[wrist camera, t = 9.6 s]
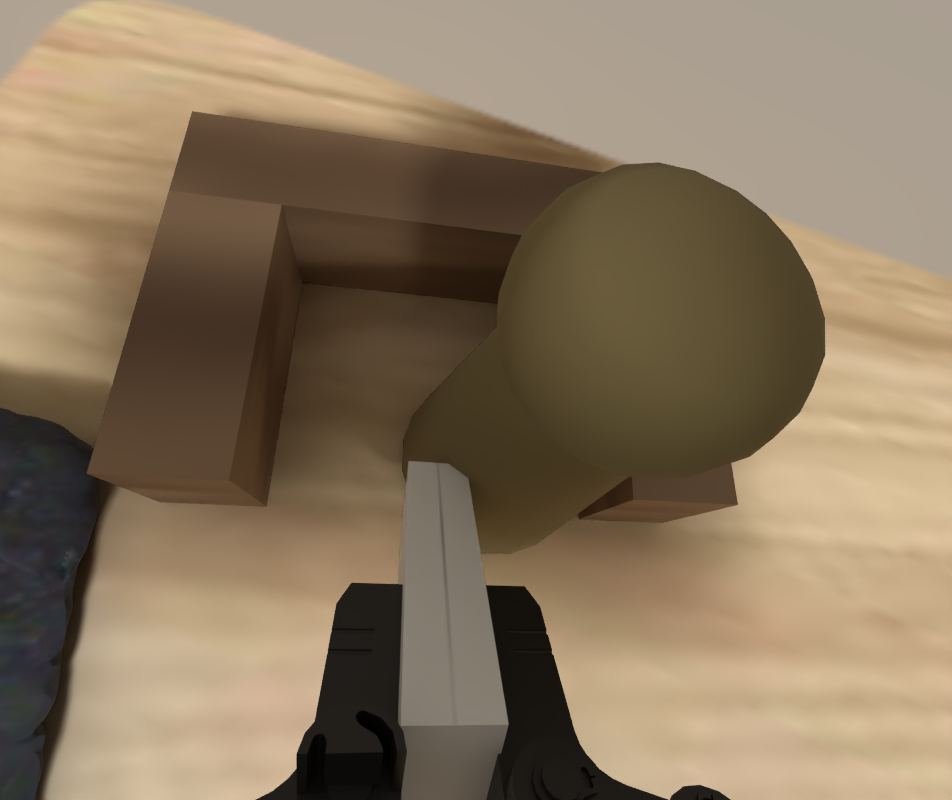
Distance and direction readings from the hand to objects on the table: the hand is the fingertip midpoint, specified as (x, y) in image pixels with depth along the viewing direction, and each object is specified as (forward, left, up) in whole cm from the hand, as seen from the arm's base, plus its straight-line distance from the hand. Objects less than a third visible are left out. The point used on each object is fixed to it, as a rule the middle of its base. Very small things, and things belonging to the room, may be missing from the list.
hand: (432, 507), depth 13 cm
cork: (+1, -3, -3) cm, 4 cm away
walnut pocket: (+5, -2, -3) cm, 7 cm away
